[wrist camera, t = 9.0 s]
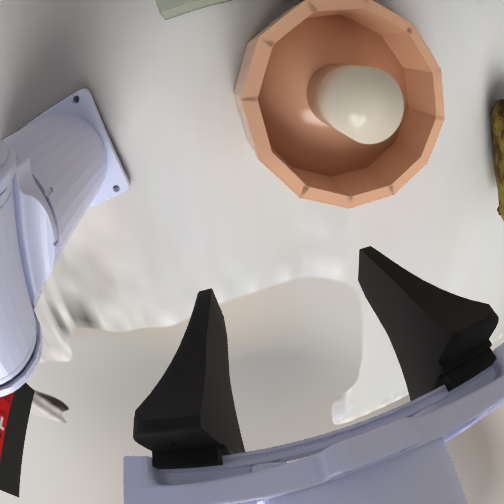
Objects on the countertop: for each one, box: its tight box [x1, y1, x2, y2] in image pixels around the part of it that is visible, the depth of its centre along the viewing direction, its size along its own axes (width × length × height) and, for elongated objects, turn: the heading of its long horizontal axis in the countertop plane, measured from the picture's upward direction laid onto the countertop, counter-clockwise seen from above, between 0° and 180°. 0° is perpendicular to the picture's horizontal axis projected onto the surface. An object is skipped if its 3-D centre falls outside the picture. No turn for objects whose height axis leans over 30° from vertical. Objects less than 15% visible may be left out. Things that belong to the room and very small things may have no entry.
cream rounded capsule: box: [306, 64, 404, 144], centre depth 15 cm, size 4×4×4 cm
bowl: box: [233, 0, 444, 208], centre depth 16 cm, size 13×13×4 cm
